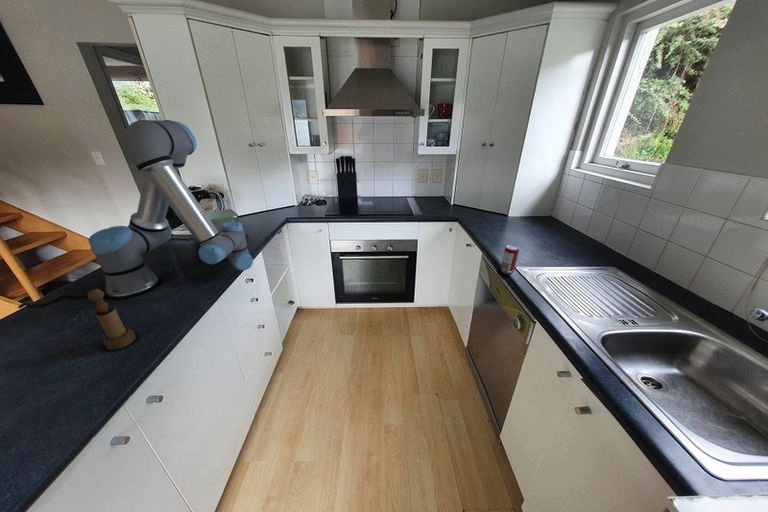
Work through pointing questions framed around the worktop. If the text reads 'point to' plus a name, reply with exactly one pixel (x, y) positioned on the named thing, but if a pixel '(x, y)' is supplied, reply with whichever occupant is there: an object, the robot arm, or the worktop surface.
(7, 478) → the worktop surface
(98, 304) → the brown tall wooden piece
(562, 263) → the worktop surface
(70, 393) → the worktop surface
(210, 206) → the coffeecake box
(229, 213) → the pale green box
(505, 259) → the soda can
